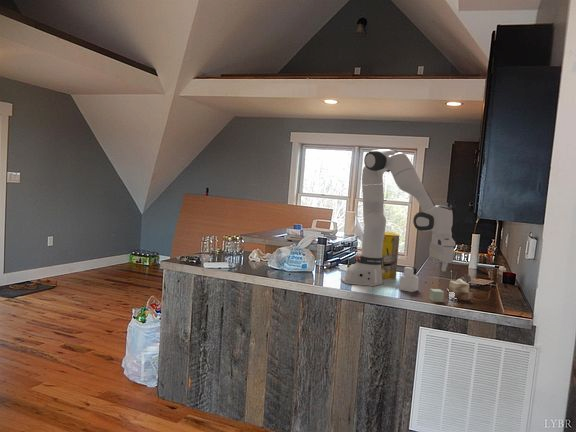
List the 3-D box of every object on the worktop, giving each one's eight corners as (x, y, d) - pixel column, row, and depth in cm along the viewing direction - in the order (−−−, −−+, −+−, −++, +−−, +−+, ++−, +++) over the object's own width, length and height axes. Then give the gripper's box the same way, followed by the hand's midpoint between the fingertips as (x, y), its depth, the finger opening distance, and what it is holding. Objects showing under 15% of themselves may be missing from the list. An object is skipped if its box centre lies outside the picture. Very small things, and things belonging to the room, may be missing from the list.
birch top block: (454, 291, 228) (455, 283, 228) (449, 288, 235) (449, 280, 235) (468, 292, 228) (469, 284, 228) (463, 289, 235) (463, 281, 235)
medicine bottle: (405, 287, 247) (407, 265, 246) (418, 290, 243) (420, 267, 242) (399, 289, 242) (401, 266, 241) (412, 292, 237) (414, 269, 236)
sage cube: (432, 301, 221) (433, 291, 221) (428, 299, 226) (429, 288, 226) (443, 302, 222) (444, 291, 221) (438, 299, 227) (439, 289, 226)
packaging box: (395, 279, 268) (399, 235, 266) (367, 277, 269) (370, 233, 267) (390, 273, 285) (393, 232, 283) (363, 271, 285) (366, 230, 283)
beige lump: (453, 300, 228) (454, 291, 228) (448, 296, 235) (448, 288, 235) (467, 300, 229) (468, 292, 228) (461, 297, 236) (462, 289, 235)
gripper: (426, 237, 232) (425, 264, 233) (443, 242, 211) (441, 273, 212) (439, 237, 232) (437, 265, 233) (457, 243, 212) (455, 273, 213)
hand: (439, 269), depth 222 cm, fingers open, 8 cm apart
